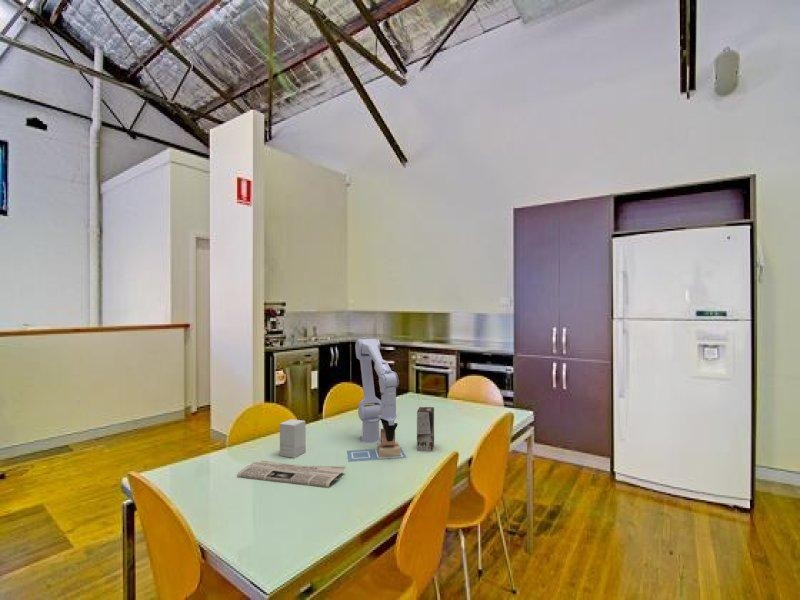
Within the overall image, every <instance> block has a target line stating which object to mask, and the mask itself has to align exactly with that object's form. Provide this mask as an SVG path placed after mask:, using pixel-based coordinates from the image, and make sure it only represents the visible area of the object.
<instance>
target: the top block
mask: <svg viewBox="0 0 800 600" xmlns="http://www.w3.org/2000/svg"><path fill="white" fill-rule="evenodd" d="M380 440H381V442H380V443H381V444H382V446H385V445H395V442H396V431H395V432H394V437H393V441H389V442H387V439H386V432H385V429H383V428H380Z"/></svg>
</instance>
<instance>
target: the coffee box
mask: <svg viewBox="0 0 800 600" xmlns="http://www.w3.org/2000/svg"><path fill="white" fill-rule="evenodd" d="M434 447H435V407H434V406H433V407H432V406H424V407H423V406H419V407H418V409H417V411H416V452H427V453H431V452H433V450H434Z"/></svg>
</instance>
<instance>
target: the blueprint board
mask: <svg viewBox="0 0 800 600" xmlns="http://www.w3.org/2000/svg"><path fill="white" fill-rule="evenodd" d="M400 448H401V456H397V457H382V458H380V456H379V454H378V451H377V448H371V449H368V448H367V449H354V450H353V449H352V450H346V456H347V462H349V463H351V462H367V461H380V460H382V461H383V460H396V459H397V460H398V459H407V458H408V457H407V456H406V453H405V452H404V450H403V448H402V447H401V446H400Z"/></svg>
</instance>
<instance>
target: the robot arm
mask: <svg viewBox="0 0 800 600" xmlns="http://www.w3.org/2000/svg"><path fill="white" fill-rule="evenodd" d="M354 346H355V347H354V348H355V356H356V359H358V360H359V363H360V372H361V381H362V382H361V383H362V389H363V390H362V391H363V398H362V399H361V400H360V401H359V402H358V411H357V413H358V414H357V415H358V418H359V420H360V421H361V422H362V432H361V433H362V434H361V436H360V439H361V442H362V444H372V443H376V444H377V443H381V437H380V422H381V424H382V429H385V432H386V439H387V442H389V441H393V437H394V432H395V433H396V430H397V427H398V423H397V422H395V420H396V418H397V387H399V382H400V380H399V376H398V374H397V372H395V371H392V369H391V367H390V365H389V363H388V361H387V360H385V359H383V356H382V353H381V351H380V350H381V342H380V339H379V338H363V339H362V338H361V339H360V338H358V339H357V340H356V341H355V345H354ZM372 362H373V363H374V366H372ZM373 367H374V370H375V373H376V375H377V376H378V385H379V392H380V395H381V396H380V398H381V399H380V398H378V397H377V396H376V391H375V384H374V375H373Z"/></svg>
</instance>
